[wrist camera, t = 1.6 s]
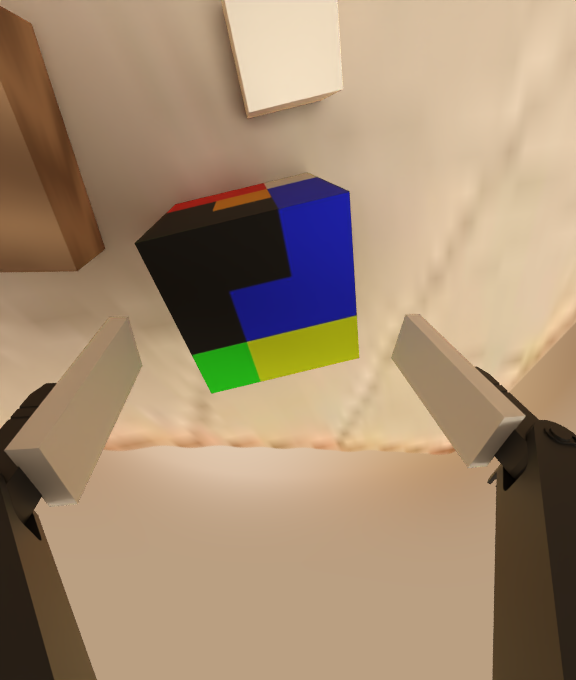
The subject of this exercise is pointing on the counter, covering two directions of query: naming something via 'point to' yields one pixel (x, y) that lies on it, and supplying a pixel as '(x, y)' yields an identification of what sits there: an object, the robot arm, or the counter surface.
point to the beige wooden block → (284, 52)
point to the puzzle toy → (259, 279)
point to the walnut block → (37, 166)
